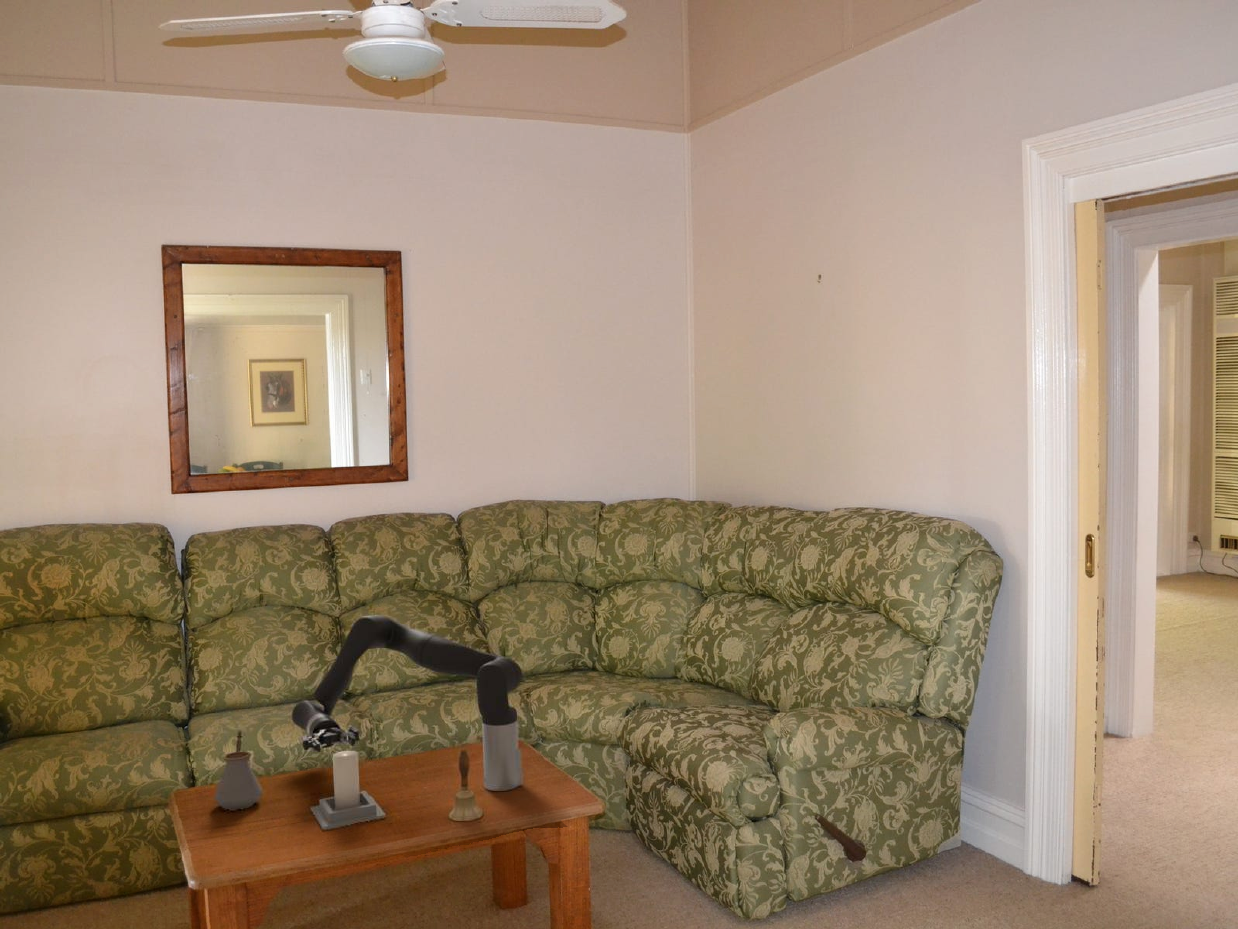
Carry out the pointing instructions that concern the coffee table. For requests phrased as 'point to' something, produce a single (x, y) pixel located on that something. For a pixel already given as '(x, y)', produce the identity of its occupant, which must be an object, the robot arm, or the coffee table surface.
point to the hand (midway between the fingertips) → (336, 745)
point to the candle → (346, 780)
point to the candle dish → (346, 812)
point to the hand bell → (465, 795)
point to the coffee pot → (238, 781)
